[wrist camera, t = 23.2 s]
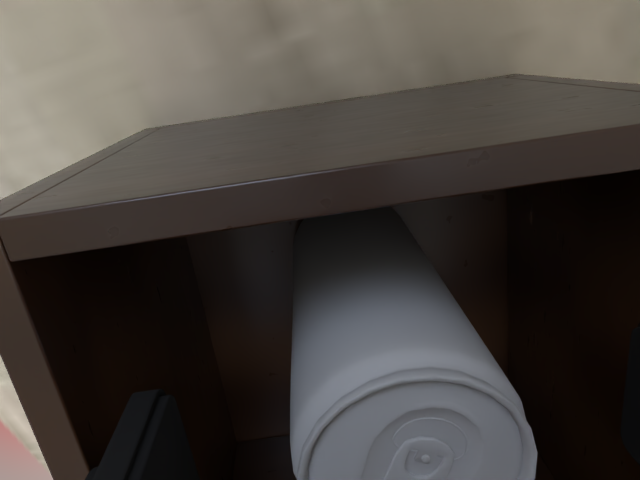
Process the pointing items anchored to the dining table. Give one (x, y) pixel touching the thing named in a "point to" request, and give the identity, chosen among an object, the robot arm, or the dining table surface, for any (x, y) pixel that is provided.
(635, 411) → the robot arm
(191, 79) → the dining table surface
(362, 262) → the beverage can
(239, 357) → the chest
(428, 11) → the dining table surface
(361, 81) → the dining table surface
